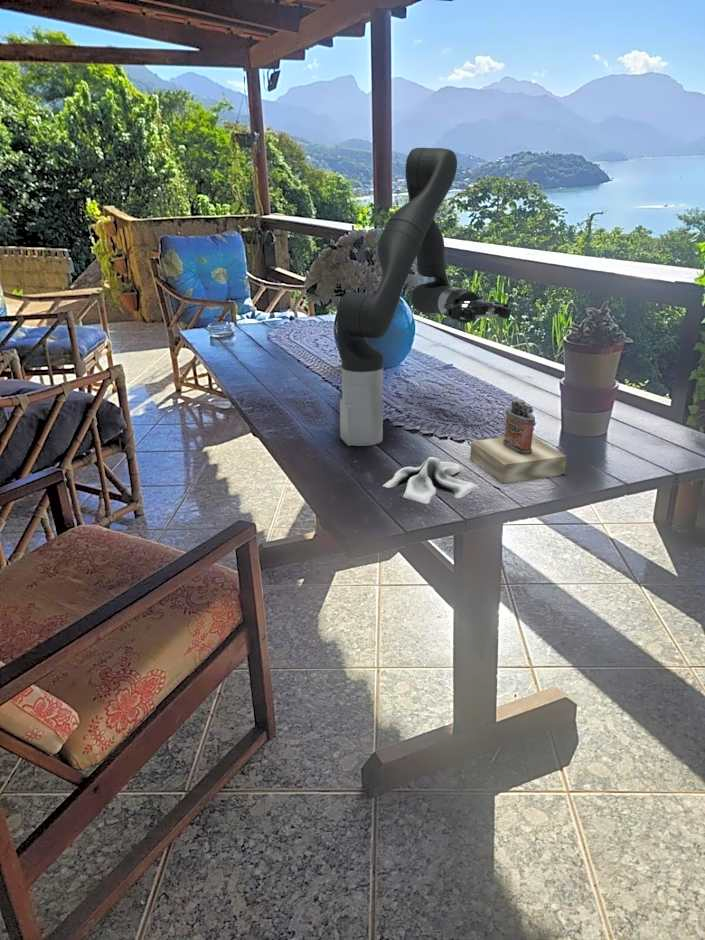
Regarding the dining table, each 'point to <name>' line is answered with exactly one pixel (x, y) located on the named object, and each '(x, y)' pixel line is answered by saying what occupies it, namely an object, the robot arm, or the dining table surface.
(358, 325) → the robot arm
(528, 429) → the lighter
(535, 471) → the base block
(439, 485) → the cloth
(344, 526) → the dining table surface
